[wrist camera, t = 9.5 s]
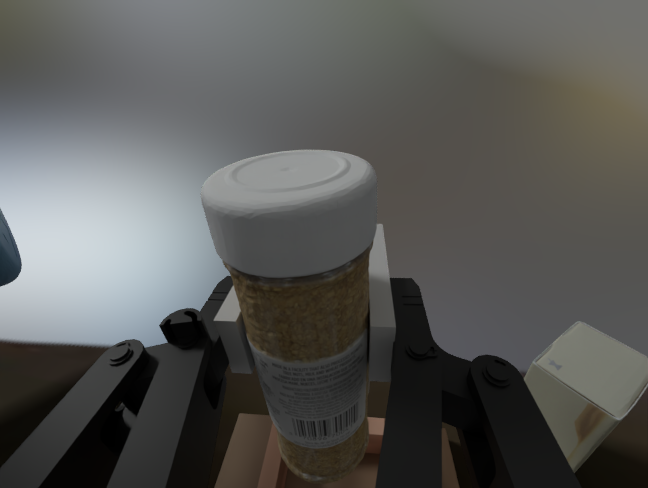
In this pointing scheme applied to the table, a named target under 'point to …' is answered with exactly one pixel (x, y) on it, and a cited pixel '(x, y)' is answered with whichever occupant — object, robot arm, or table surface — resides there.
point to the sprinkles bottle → (303, 294)
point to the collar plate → (274, 475)
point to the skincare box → (586, 388)
